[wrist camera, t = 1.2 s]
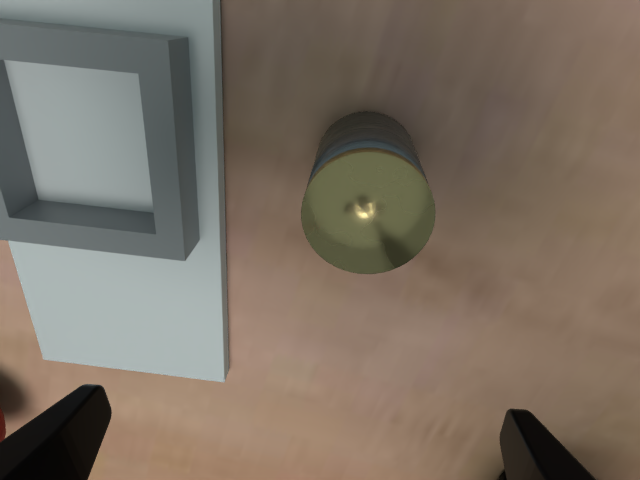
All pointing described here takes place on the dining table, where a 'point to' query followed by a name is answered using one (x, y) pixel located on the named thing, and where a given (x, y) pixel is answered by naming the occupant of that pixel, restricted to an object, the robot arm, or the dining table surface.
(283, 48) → the dining table surface
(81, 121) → the dock
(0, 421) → the onion
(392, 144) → the lidded tin can
